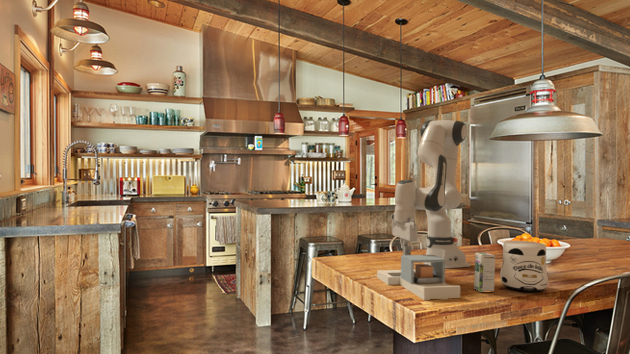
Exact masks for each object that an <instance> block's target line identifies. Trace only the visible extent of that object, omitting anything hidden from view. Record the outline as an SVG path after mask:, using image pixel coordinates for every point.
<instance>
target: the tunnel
mask: <svg viewBox="0 0 630 354" xmlns="http://www.w3.org/2000/svg"><path fill="white" fill-rule="evenodd" d="M425 262H431V266H432V267H433V274H435V275H437V276H439V277H442V283H446V268H445V259H443V258H440V257H438V256H435V255H426V254H411V255H403V254H402V255H401V256H400V270H401V278H402V279H404V280H405V281H407V282H409V283H410V284H413V278H414V269H415V266H414V265H415V264H416V263H417V264H418V263H419V264H424V263H425ZM414 263H415V264H414Z"/></svg>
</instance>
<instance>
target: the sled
mask: <svg viewBox="0 0 630 354" xmlns="http://www.w3.org/2000/svg"><path fill="white" fill-rule="evenodd" d="M411 248H412V246H411V245H409V244H408V245H403V249H402V255H412V253H411V252H412V249H411ZM413 281H414V282H415V283H417V284H425V283H442V277H439V276H437V275H435V274H433V277H428V278H418V277H416V276H415V271H414V278H413Z"/></svg>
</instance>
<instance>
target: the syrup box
mask: <svg viewBox="0 0 630 354" xmlns="http://www.w3.org/2000/svg"><path fill="white" fill-rule="evenodd" d="M474 256H475V257H474V258H475V259H474V275H473V276H474V277H473V279H474V282H473V288H474V290H475V289H476V290H475V291H477V290H478V291H477V292H479V291H480V292H485V291H494V292H495V274H496V273H495V272H496V255H494V254H491V253H489V252H479V251H478V252H475V253H474ZM480 292H479V293H480Z"/></svg>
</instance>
